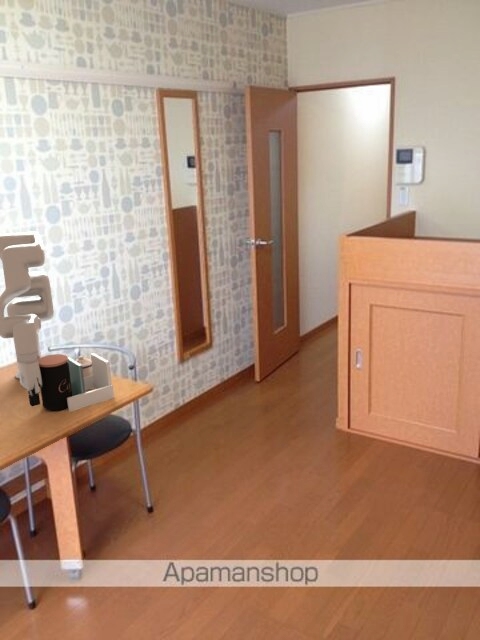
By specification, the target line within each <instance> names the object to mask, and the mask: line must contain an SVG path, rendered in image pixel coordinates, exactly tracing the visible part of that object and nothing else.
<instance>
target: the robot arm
mask: <svg viewBox="0 0 480 640" xmlns="http://www.w3.org/2000/svg"><path fill="white" fill-rule="evenodd" d="M45 257H46V255H45V249H44V244H43V239H42V236H41V235H40V234H39V232H36V231H28V232H16V233H15V232H14V233H13V232H11V233H3V234H0V260H1V264H2V269H3V275H4V277H3V278H4V283H5V284H4V285H5V288H4V291H3V292H2V293H1V295H0V337H1V338H2V339H13V343H14V350H15V357H16V363H17V364H16V365H17V368H18V369H17V371H16V372H15V373H14V377H15V378H16V379H19V383H20V385H21V386H23V388H24V389H26V390H27V395H28V402H29V403H28V404H29V405H30V406H31V408H33V407H36V406H39V405H41V399H40V394H41V390H40V388H41V387H42V378H41V372H40V367H39V363H38V360H39V359H40V358H41V357H42V354H41V353H42V352H41V346H40V339H39V333H40V330H41V328H42V322H45V321H50V320H52V319H53V317H54V313H55V312H54V310H55V309H54V303H53V297H52V290H51V289H52V288H51V283H50V282H51V281H50V279H49V276H48V274H47V273H46V272H44V271H31V272H30V271H29V269H30V268H36V267H42V266H44V264H45V259H46V258H45ZM28 297H35V298H28ZM17 298H18V299H17ZM19 298H24V299H19ZM14 299H17V300H14ZM12 300H14V301H12ZM5 309H6V312H7V316H5Z"/></svg>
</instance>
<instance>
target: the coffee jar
mask: <svg viewBox="0 0 480 640" xmlns="http://www.w3.org/2000/svg"><path fill="white" fill-rule="evenodd" d="M68 357H69V356H67V355H66V354H58V353H57V354H56V353H55V354H49V355H44V356H41V358H40V359H39V360H38V363H39V367H40V372H41V378H42V387H41V388H40V387H39V390H40V395H41V402H42V403H41V404H42V408H43V409H45V410H46V411H48V412H52V413H55V412H61V411H65V410H68V403H67V398H68V397H72V396H73V395H72V387H71V378H70V370H69V364H68V362H67V361H68Z"/></svg>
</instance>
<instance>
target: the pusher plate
mask: <svg viewBox="0 0 480 640" xmlns="http://www.w3.org/2000/svg"><path fill="white" fill-rule="evenodd" d="M67 357H68V361H67V362H68V364H69V370H70V378H71V387H72V395H73V396H75V395H78V394H82V393H85V392H86V390H85V385H84V377H83V368H82V365H81V364H80V363H78V362H76V361H75V360H76V359H75V360H74V359H73V358H72V357H70V356H67Z"/></svg>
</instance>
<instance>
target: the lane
mask: <svg viewBox="0 0 480 640" xmlns="http://www.w3.org/2000/svg"><path fill="white" fill-rule="evenodd" d="M90 359H91V361H92V369H93V375H90V376H87V377H84V385H85V393H82V394H78V395H75V396H72V397H68V398H67V403H68V409H67V410H68V412H69V413H71V412H73V411H77V410H80V409H84V408H86V407H90V406H92V405H95V404H99V403H103V402H106V401H109V400H112V399H115V392H114V385H113V384H112V375H111V366H110V360H109V361H108V360H107V359H105V358H103V357H102V356H99V355H98V354H97V353H94V352H92V353H90ZM91 389H92V390H91ZM88 390H89V391H88Z"/></svg>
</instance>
